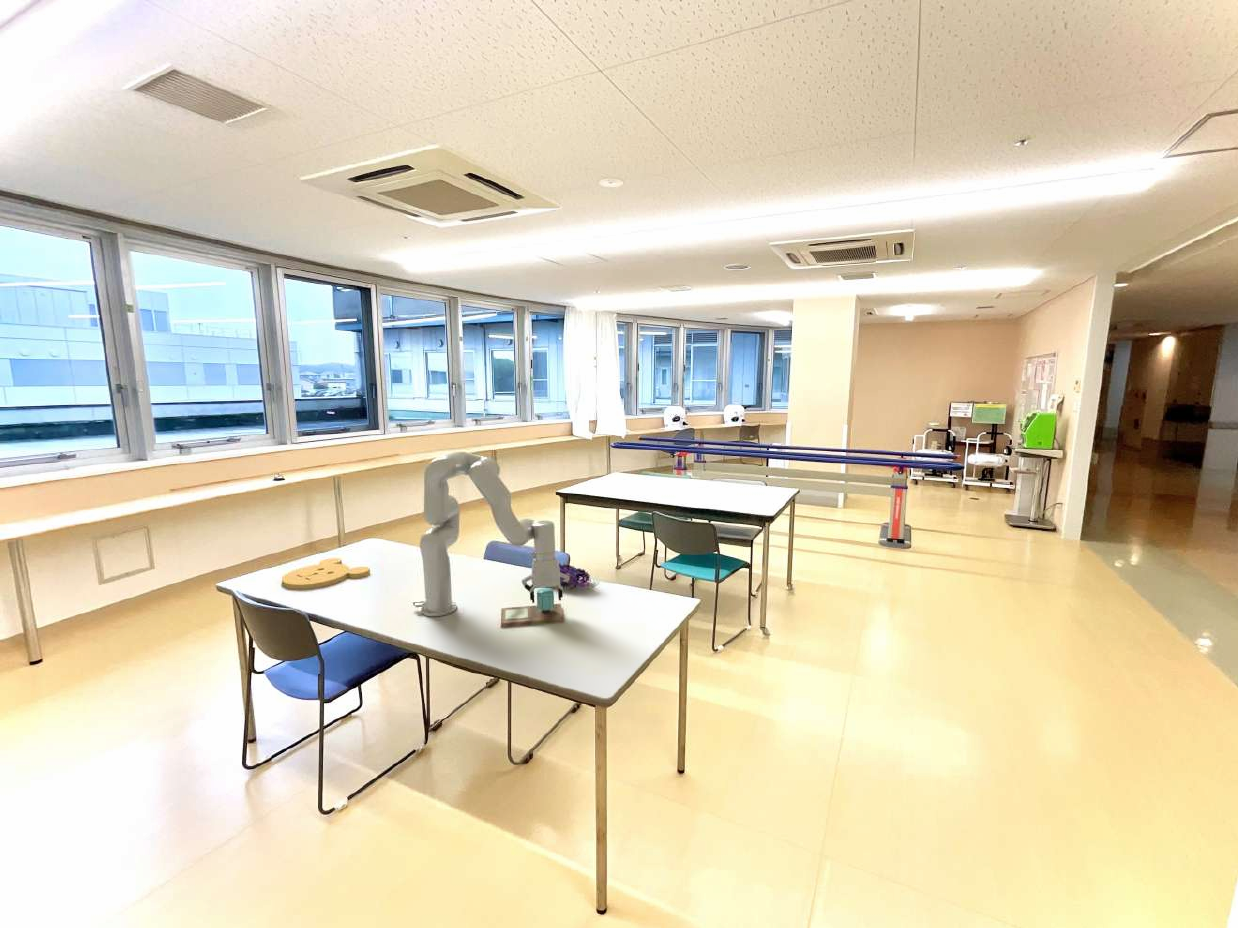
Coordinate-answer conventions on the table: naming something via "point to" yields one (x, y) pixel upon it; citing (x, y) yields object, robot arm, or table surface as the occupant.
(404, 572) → the table surface
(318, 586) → the decorative plaque
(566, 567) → the decorative ornament
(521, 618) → the post board
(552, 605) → the teal cap
